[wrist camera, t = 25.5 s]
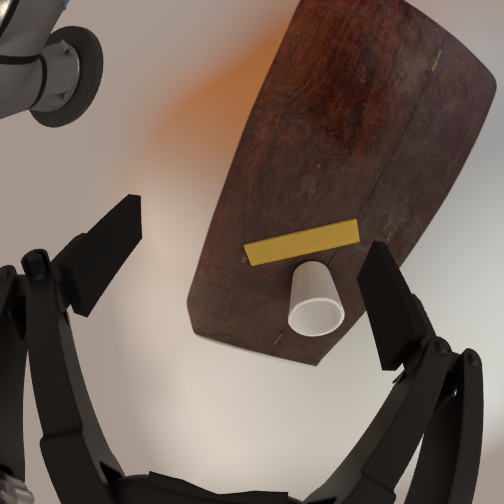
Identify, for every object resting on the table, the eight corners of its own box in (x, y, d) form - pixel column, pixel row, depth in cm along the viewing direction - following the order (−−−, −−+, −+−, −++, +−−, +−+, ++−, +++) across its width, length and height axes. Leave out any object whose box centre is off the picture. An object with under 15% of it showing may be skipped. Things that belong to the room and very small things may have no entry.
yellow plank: (251, 264, 56) (251, 266, 56) (243, 244, 54) (243, 245, 53) (359, 240, 51) (359, 241, 51) (355, 217, 49) (356, 219, 48)
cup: (293, 295, 60) (295, 340, 50) (281, 260, 55) (281, 305, 45) (337, 285, 58) (347, 330, 47) (329, 248, 53) (341, 292, 42)
